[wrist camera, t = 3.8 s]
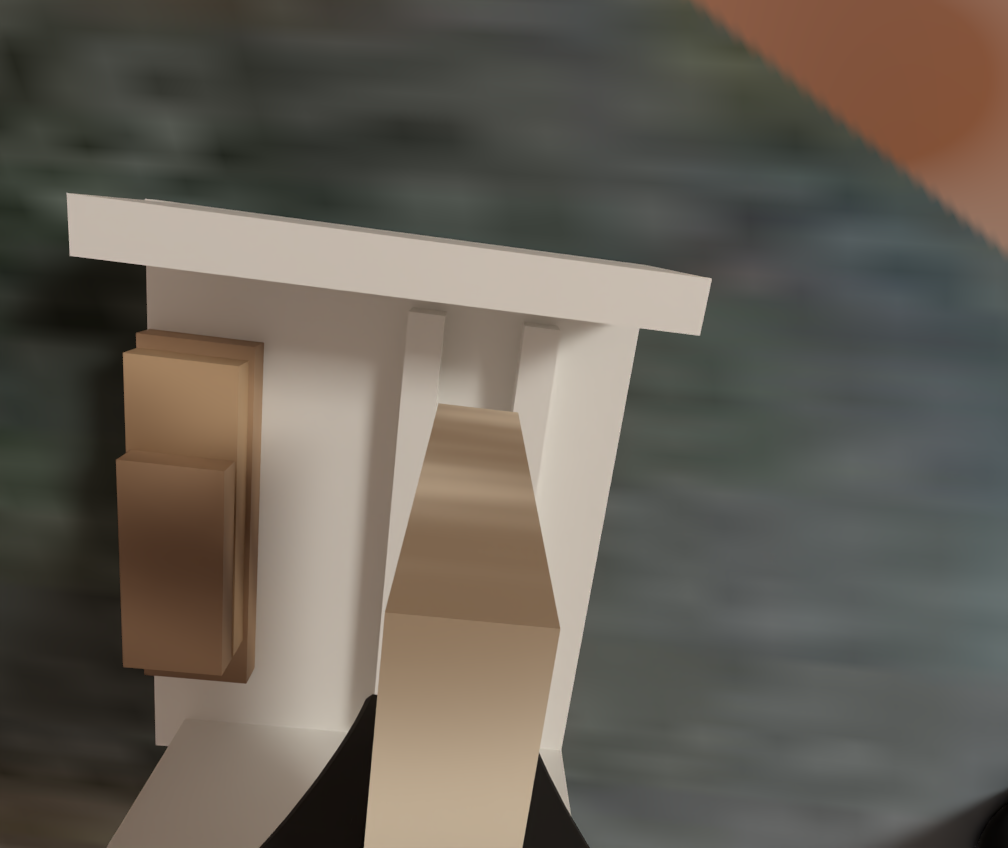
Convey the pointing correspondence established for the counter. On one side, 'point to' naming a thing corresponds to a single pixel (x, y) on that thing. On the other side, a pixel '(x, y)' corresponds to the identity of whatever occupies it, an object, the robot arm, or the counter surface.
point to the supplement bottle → (996, 831)
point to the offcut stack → (190, 505)
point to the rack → (369, 460)
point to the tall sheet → (464, 647)
